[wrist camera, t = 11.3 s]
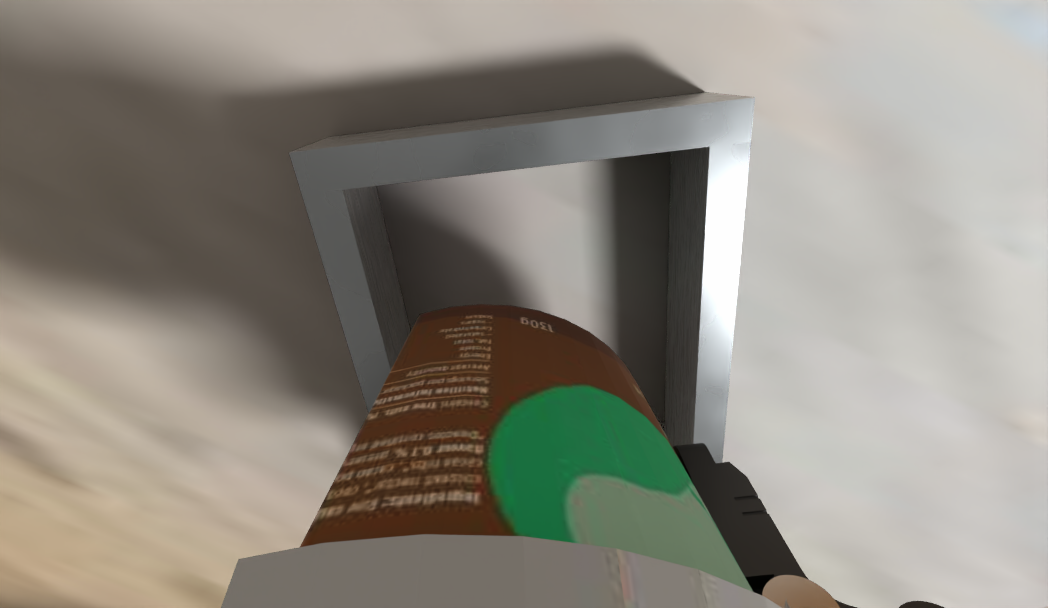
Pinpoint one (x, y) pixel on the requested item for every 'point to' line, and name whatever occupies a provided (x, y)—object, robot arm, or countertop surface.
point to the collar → (542, 140)
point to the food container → (505, 486)
